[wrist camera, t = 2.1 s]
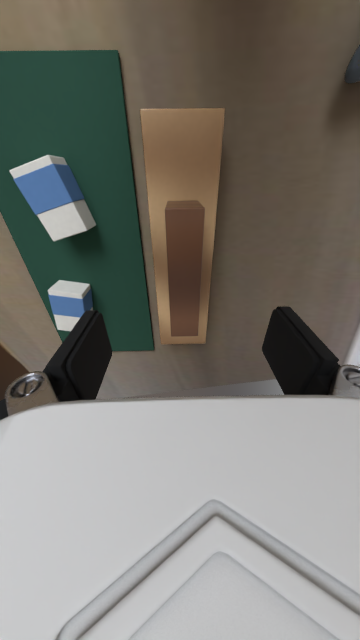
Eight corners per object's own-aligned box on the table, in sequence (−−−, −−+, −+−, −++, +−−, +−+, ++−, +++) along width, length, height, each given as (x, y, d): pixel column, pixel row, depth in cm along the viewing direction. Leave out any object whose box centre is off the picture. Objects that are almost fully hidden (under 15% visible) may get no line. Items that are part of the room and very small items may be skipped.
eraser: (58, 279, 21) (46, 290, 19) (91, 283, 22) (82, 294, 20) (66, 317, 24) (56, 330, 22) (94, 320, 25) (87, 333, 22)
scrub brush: (144, 118, 15) (124, 80, 9) (218, 117, 15) (245, 79, 9) (162, 331, 26) (158, 374, 21) (203, 330, 26) (210, 373, 21)
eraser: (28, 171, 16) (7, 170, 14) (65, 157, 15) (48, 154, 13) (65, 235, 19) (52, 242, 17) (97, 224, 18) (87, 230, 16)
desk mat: (-70, 54, 13) (-77, 51, 12) (118, 52, 13) (117, 49, 12) (68, 350, 28) (66, 352, 28) (154, 348, 28) (153, 350, 28)
